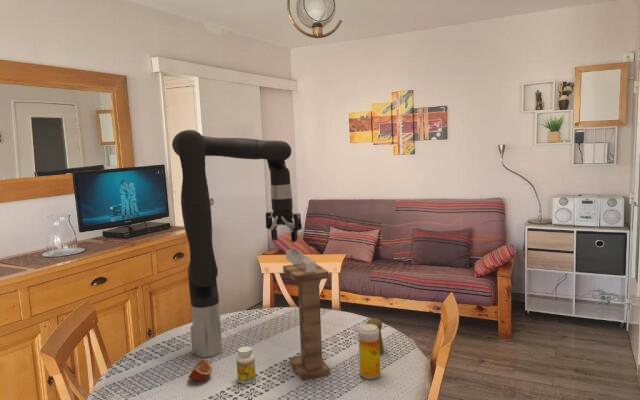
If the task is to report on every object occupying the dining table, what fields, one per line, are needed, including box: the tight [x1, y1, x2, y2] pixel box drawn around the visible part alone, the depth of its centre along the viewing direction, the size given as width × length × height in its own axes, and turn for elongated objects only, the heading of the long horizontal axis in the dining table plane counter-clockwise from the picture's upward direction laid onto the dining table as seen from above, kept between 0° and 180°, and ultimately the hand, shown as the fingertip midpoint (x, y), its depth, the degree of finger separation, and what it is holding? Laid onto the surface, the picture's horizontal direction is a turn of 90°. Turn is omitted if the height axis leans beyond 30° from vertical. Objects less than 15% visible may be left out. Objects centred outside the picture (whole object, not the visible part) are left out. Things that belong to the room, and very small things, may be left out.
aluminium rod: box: [285, 248, 317, 274], centre depth 147 cm, size 20×3×3 cm, turn 21°
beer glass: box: [358, 323, 381, 380], centre depth 140 cm, size 6×6×15 cm
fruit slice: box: [188, 357, 213, 382], centre depth 143 cm, size 8×7×5 cm
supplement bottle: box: [235, 346, 257, 385], centre depth 141 cm, size 5×5×10 cm
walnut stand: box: [282, 263, 331, 382], centre depth 145 cm, size 13×10×32 cm
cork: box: [366, 318, 385, 356], centre depth 156 cm, size 6×6×11 cm
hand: (284, 240), depth 172 cm, fingers open, 8 cm apart
